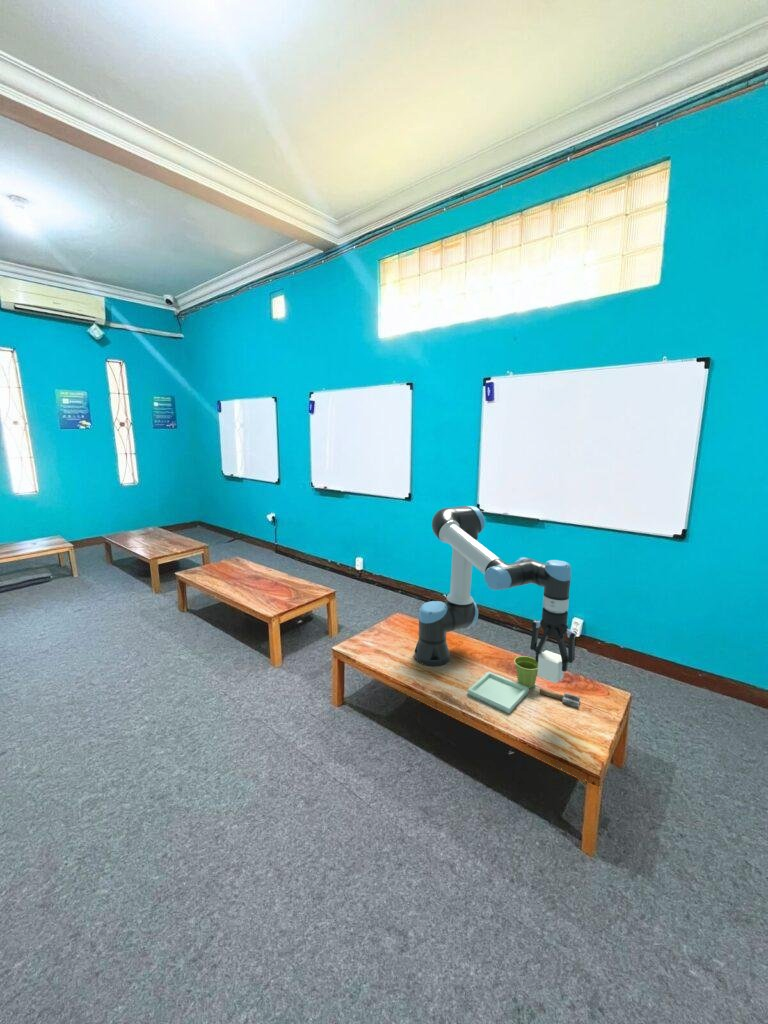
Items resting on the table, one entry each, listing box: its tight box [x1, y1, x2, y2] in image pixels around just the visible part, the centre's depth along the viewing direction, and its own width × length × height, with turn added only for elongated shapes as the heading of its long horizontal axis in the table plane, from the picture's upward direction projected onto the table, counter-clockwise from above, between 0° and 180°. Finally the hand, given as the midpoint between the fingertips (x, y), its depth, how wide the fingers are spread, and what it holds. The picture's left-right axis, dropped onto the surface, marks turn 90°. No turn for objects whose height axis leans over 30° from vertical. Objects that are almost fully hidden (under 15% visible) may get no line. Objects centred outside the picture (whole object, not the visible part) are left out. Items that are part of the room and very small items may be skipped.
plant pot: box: [513, 655, 538, 689], centre depth 151 cm, size 9×9×9 cm
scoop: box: [538, 688, 580, 709], centre depth 143 cm, size 13×4×2 cm, turn 58°
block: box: [537, 650, 562, 684], centre depth 131 cm, size 6×6×7 cm
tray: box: [467, 671, 530, 715], centre depth 146 cm, size 16×16×2 cm
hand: (550, 674), depth 132 cm, fingers closed on block, 6 cm apart
